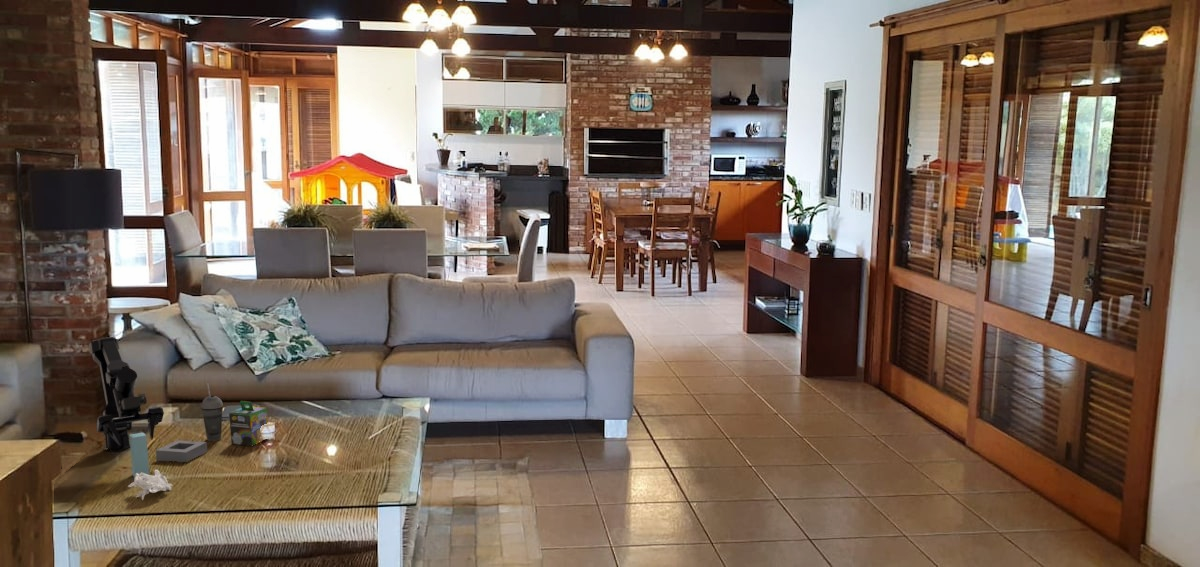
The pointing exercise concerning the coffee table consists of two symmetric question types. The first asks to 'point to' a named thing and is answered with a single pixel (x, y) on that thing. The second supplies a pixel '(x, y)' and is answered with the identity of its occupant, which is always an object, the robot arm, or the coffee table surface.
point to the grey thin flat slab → (232, 408)
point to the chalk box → (247, 424)
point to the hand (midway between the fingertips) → (136, 441)
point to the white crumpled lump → (150, 483)
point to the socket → (181, 451)
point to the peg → (139, 453)
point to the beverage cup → (212, 416)
